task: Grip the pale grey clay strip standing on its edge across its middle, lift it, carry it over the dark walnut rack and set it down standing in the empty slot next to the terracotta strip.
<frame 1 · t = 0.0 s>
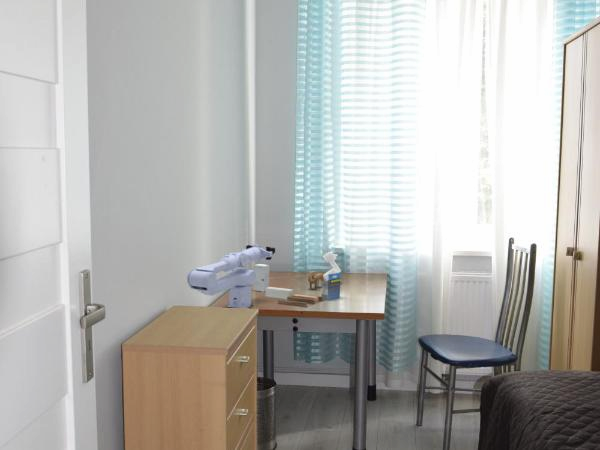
hand: (266, 249, 315), 22 cm above the table, tool horizontal, fingers open, 7 cm apart
label tape box: (330, 301, 314), on the table
lion figurine: (316, 288, 343), on the table
voxel character: (331, 283, 357), on the table
terracotta strip: (305, 300, 308), point 1 cm above the table, touching walnut drying rack
walnut drying rack: (301, 304, 305), on the table
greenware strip: (279, 300, 315), on the table
skincare box: (261, 291, 336), on the table
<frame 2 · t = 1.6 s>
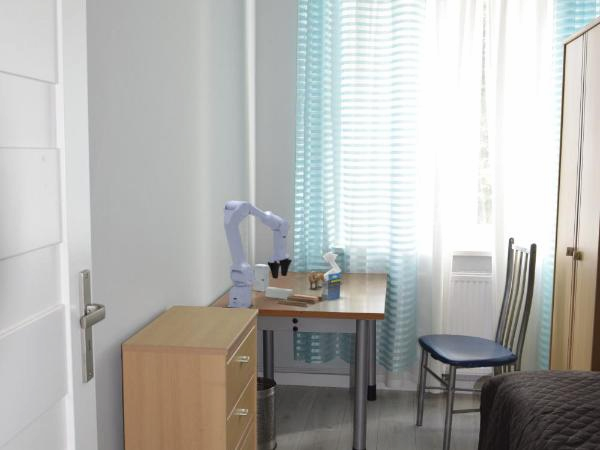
hand: (279, 277, 314), 10 cm above the table, tool pointing down, fingers open, 7 cm apart
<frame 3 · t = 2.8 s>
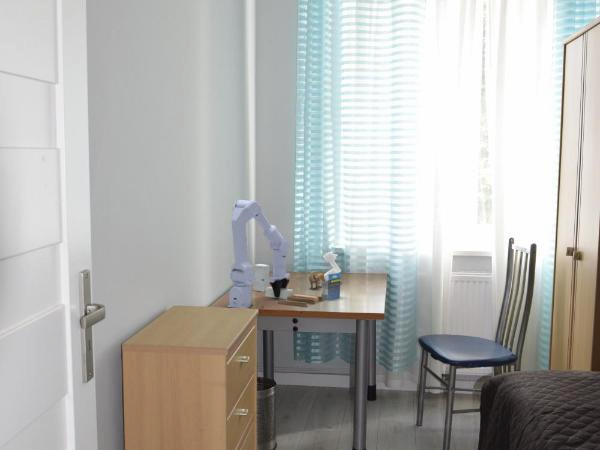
hand: (279, 296, 315), 1 cm above the table, tool pointing down, fingers open, 4 cm apart
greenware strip: (279, 300, 315), on the table, touching gripper
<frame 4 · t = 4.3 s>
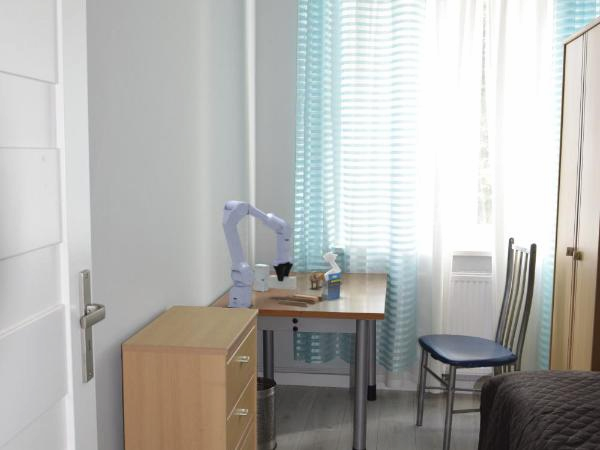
hand: (282, 280, 311), 9 cm above the table, tool pointing down, fingers closed on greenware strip, 3 cm apart
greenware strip: (282, 288, 312), point 6 cm above the table, touching gripper
when the fingers open (6 cm above the table, at t = 5.5 s): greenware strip stays where it is, resting on walnut drying rack.
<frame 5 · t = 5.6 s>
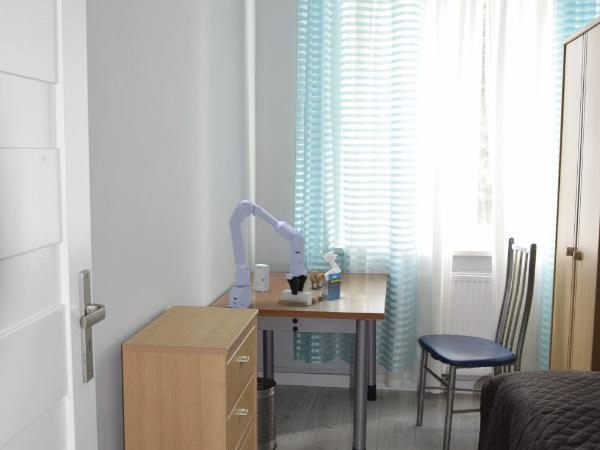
hand: (297, 293, 301), 5 cm above the table, tool pointing down, fingers open, 4 cm apart
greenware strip: (297, 303, 302), point 1 cm above the table, touching gripper, walnut drying rack
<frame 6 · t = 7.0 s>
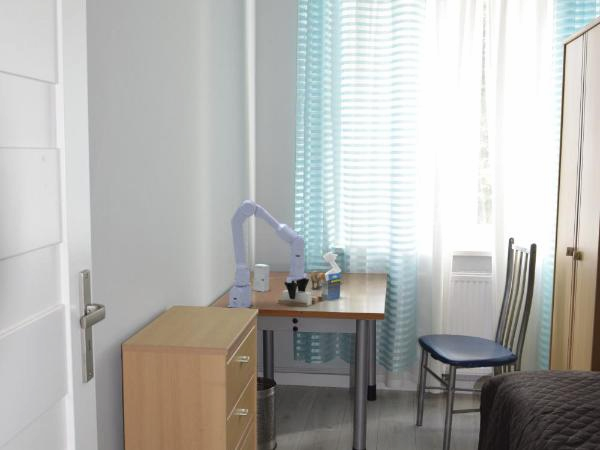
hand: (296, 297, 301), 4 cm above the table, tool pointing down, fingers open, 7 cm apart
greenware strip: (297, 303, 302), point 1 cm above the table, touching walnut drying rack
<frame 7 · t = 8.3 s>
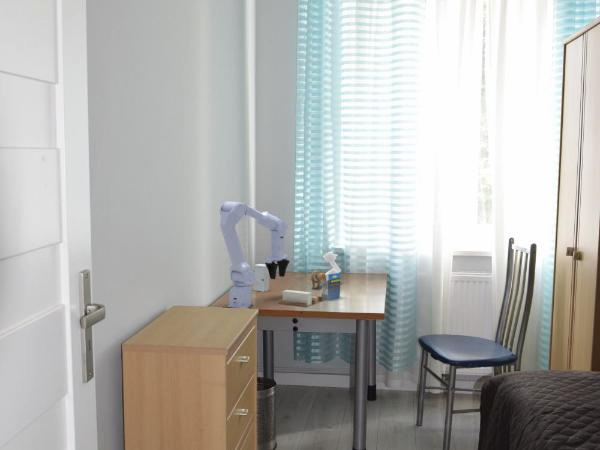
hand: (277, 277, 312), 10 cm above the table, tool pointing down, fingers open, 7 cm apart
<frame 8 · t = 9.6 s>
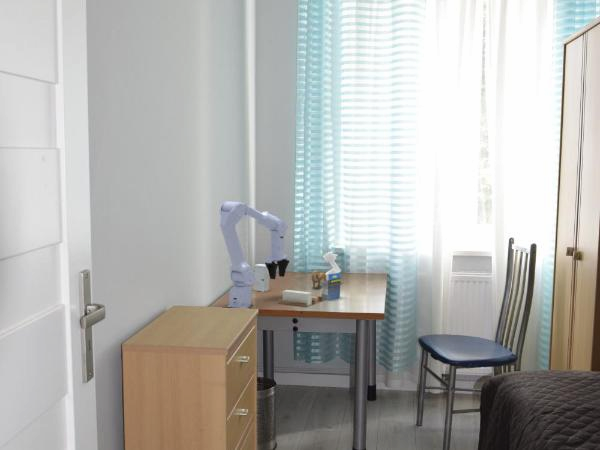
hand: (277, 277, 312), 10 cm above the table, tool pointing down, fingers open, 7 cm apart
at the end: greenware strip inside the target area on the walnut drying rack (0.1 cm from its centre), point 1.0 cm above the walnut drying rack's base; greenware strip tilted 0°; the gripper is holding nothing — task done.
